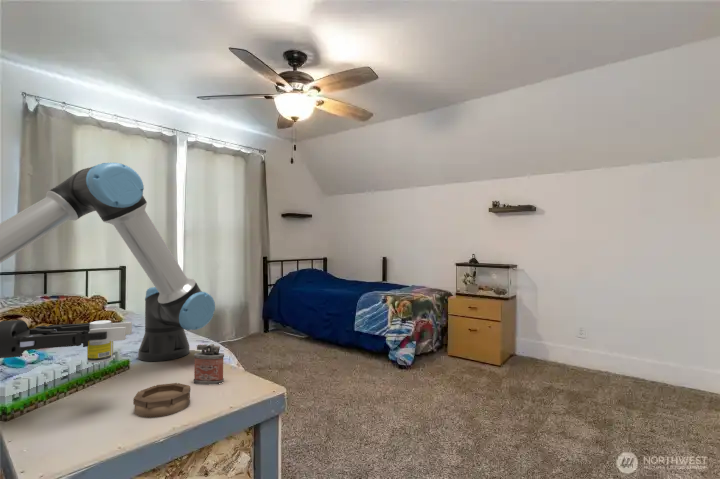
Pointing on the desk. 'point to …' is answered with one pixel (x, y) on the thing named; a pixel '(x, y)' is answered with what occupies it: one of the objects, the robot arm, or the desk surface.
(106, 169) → the robot arm
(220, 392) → the desk surface
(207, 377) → the lighter
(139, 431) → the desk surface
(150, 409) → the coaster stand
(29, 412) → the desk surface
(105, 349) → the supplement bottle
